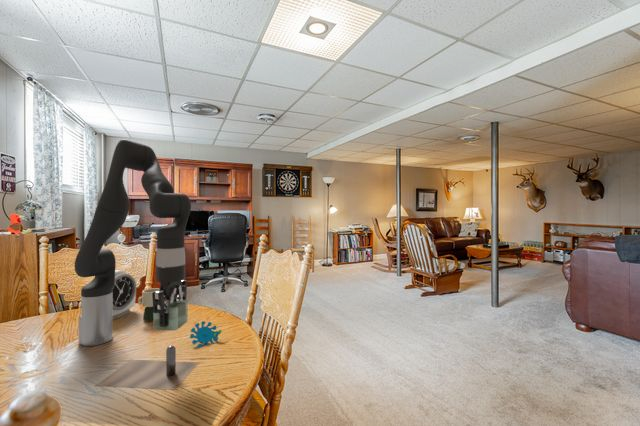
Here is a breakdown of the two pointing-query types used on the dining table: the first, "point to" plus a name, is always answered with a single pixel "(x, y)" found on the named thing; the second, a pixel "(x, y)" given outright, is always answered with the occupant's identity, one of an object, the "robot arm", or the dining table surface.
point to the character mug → (147, 303)
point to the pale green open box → (173, 316)
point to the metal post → (170, 361)
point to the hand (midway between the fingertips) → (171, 321)
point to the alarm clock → (123, 293)
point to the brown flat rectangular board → (148, 375)
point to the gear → (204, 334)
